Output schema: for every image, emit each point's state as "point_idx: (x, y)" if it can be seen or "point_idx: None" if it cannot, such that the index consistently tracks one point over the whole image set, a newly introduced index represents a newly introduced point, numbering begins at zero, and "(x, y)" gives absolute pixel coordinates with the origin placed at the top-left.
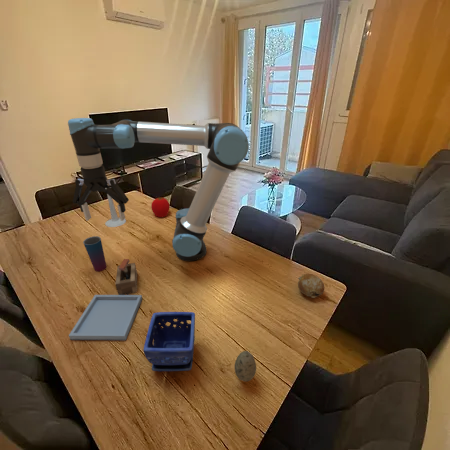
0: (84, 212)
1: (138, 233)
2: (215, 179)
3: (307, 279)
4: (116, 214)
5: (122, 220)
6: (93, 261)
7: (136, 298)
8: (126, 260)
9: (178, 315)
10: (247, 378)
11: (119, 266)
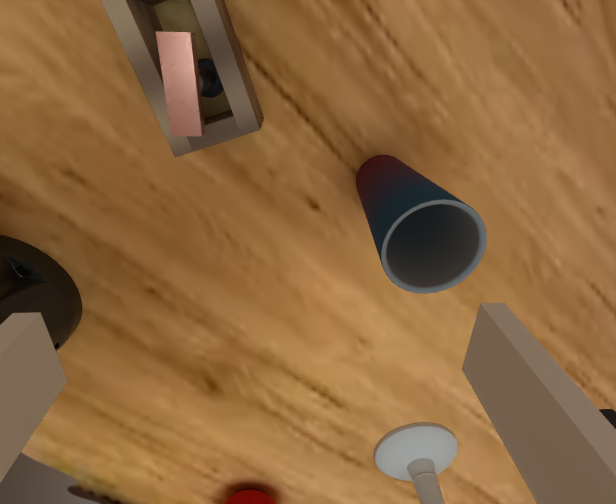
0: (572, 399)
1: (303, 401)
2: None
3: None
4: (417, 492)
5: (10, 316)
6: (405, 168)
7: None
8: (179, 119)
9: None
10: None
11: (246, 121)
